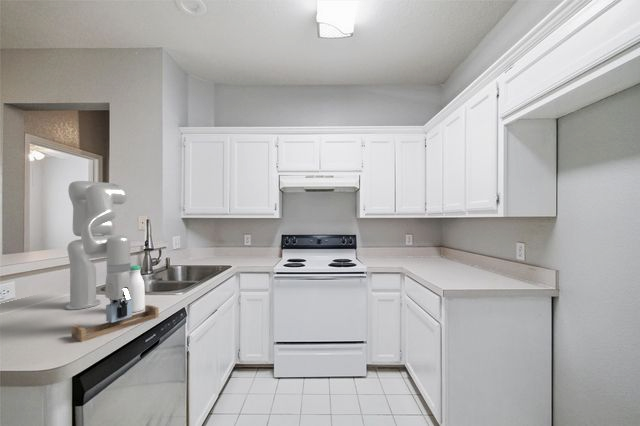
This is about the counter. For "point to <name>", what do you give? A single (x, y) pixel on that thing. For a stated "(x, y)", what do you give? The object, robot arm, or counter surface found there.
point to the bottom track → (81, 332)
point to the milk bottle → (137, 289)
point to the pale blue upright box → (112, 312)
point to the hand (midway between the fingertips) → (119, 315)
